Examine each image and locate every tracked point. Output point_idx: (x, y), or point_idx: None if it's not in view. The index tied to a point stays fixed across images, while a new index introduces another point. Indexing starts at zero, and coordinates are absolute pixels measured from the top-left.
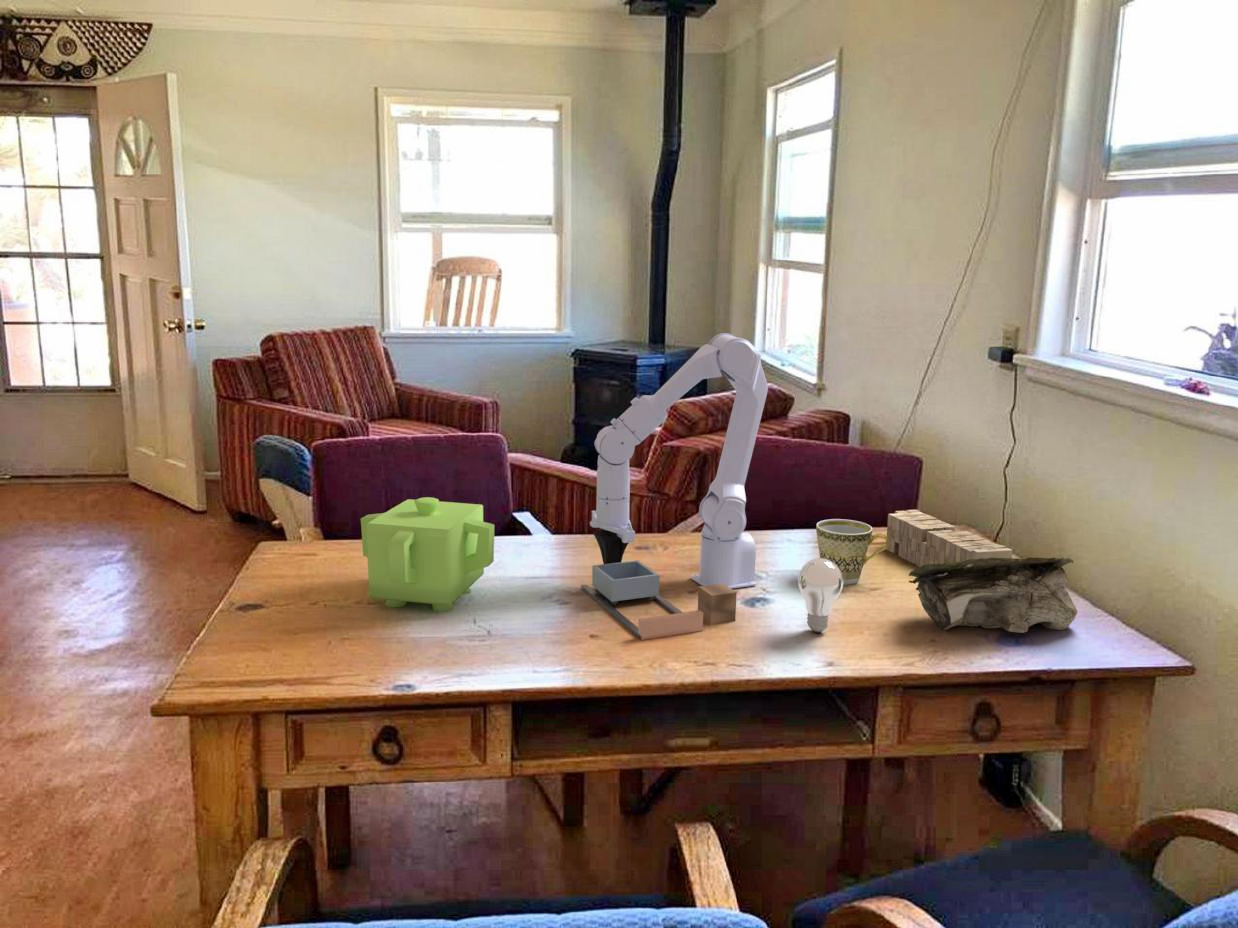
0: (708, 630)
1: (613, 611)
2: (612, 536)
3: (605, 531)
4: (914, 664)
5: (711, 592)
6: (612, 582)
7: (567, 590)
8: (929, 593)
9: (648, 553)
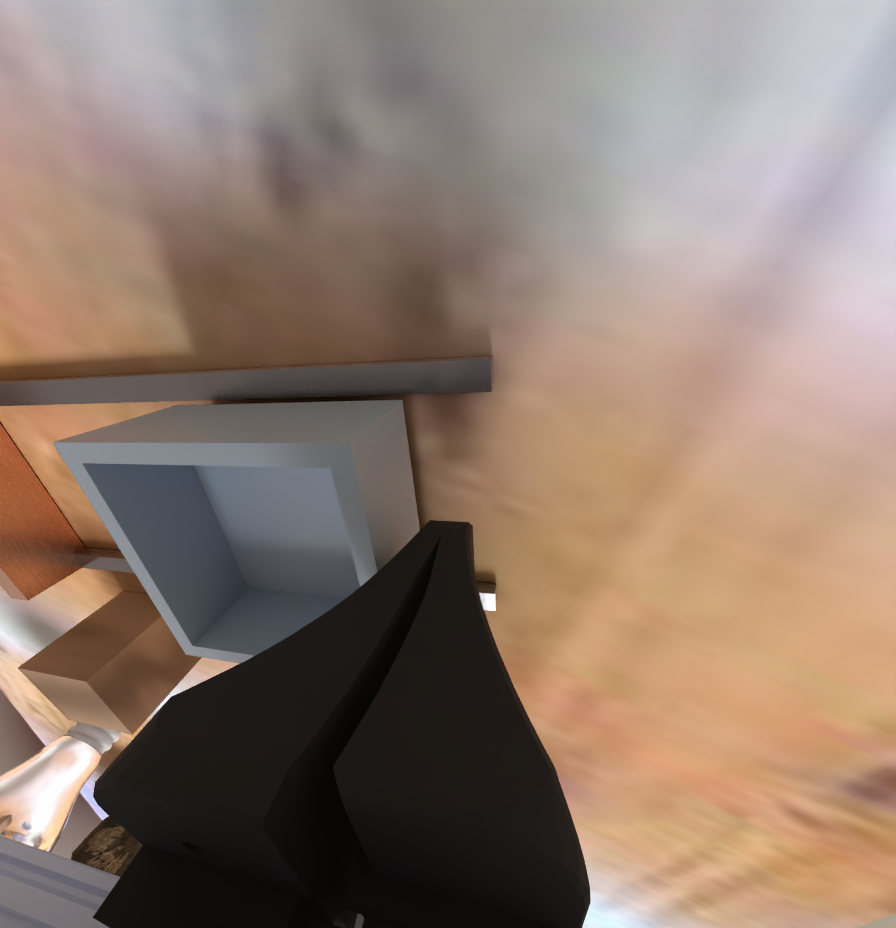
0: (86, 570)
1: (131, 381)
2: (156, 844)
3: (404, 923)
4: (36, 713)
5: (43, 679)
6: (65, 440)
7: (488, 261)
8: (106, 867)
9: (795, 766)
